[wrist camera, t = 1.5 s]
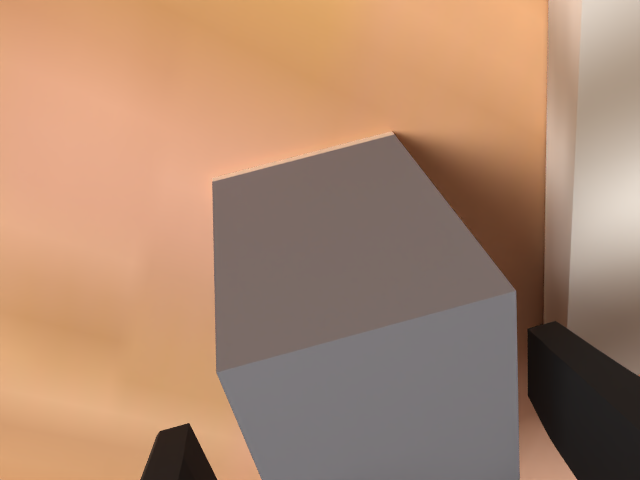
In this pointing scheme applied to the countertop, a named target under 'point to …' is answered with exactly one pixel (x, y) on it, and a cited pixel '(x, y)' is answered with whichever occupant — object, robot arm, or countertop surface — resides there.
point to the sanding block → (361, 322)
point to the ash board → (594, 174)
